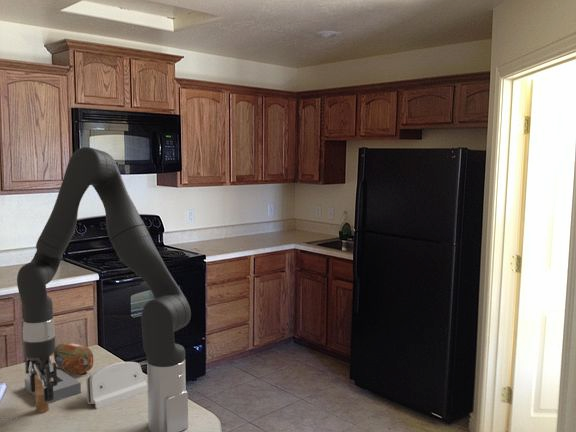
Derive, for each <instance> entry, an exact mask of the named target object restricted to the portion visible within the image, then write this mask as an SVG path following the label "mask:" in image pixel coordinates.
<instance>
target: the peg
mask: <svg viewBox="0 0 576 432" xmlns="http://www.w3.org/2000/svg"><path fill="white" fill-rule="evenodd" d="M42 376H44V375H42ZM45 381H46V379H45ZM43 388H44V387H43V384H42V381H40V380H39V378H38V375H37V374H35V395H36V397H35V413H37V414H43V413H44V414H45V413H46V412H48V411H49V410H50V409H49V408H50V407H49V404H50V403H48V402H45V401H44V392H43Z"/></svg>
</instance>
